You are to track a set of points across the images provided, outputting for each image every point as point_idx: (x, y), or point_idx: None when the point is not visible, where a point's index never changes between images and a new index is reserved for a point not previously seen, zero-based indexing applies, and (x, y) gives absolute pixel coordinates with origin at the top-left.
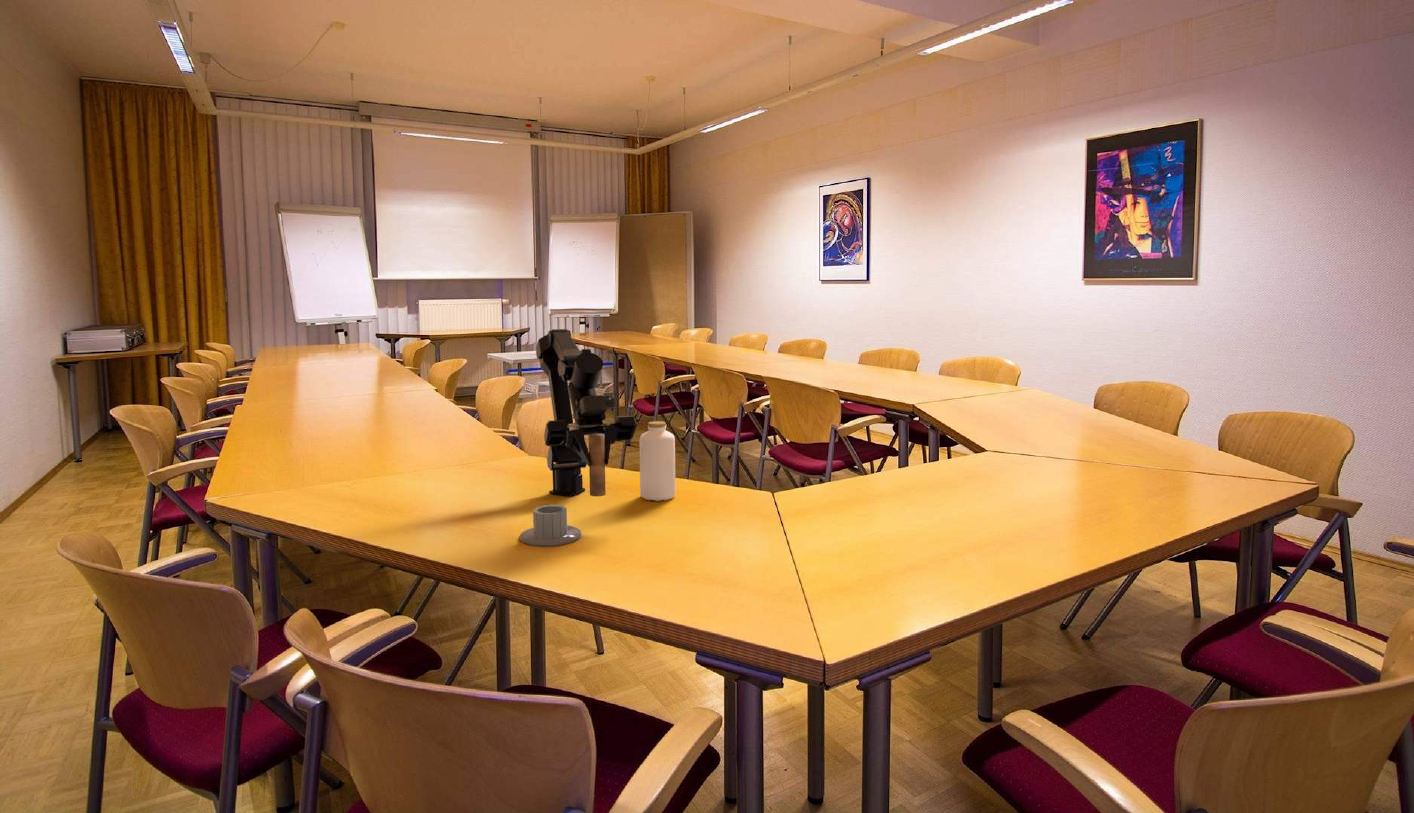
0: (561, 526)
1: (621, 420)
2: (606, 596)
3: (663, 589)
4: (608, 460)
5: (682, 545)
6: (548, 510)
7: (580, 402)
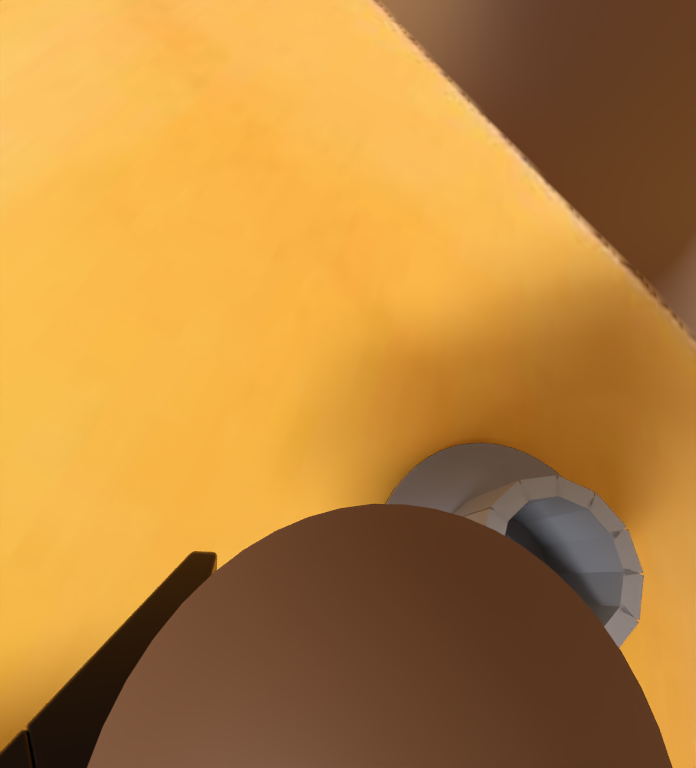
0: (482, 497)
1: None
2: (425, 89)
3: (301, 57)
4: (181, 564)
5: (76, 248)
6: None
7: None
